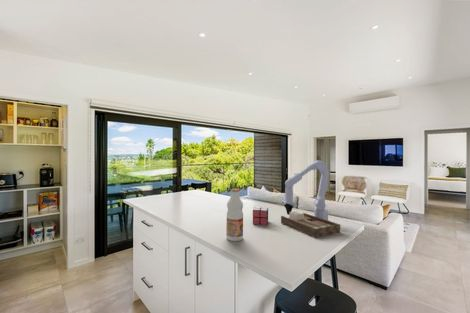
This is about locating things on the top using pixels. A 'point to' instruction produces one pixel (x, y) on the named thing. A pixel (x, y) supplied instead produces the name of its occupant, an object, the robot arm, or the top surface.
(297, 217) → the cream block
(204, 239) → the top surface
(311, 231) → the trap box
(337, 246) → the top surface
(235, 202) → the fruit juice
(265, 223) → the puzzle cube
